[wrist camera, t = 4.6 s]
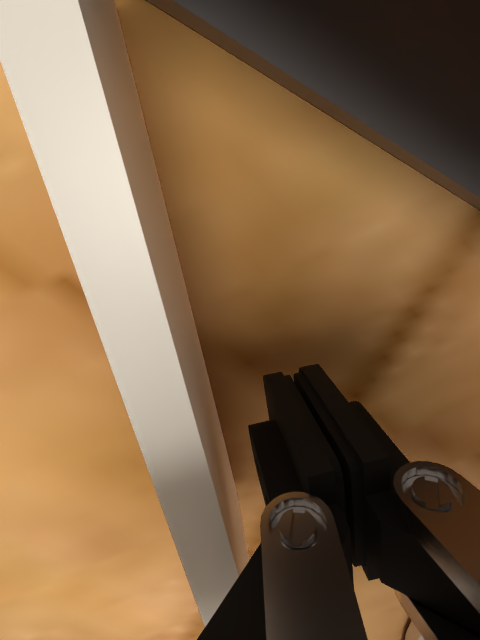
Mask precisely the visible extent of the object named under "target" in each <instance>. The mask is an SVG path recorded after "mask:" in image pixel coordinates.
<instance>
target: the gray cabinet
mask: <svg viewBox="0 0 480 640" xmlns="http://www.w3.org/2000/svg"><path fill="white" fill-rule="evenodd" d="M147 1H148V2H150V3H152V4H153V5H155V6H156V7H158V8H160V9H161V10H163V11H164V12H166V13H167V14H169V15H171V16H172V17H174V18H175V19H177V20H179V21H180V22H182V23H183V24H185V25H187V26H188V27H190V28H191V29H193V30H194V31H196V32H198V33H199V34H201V35H202V36H204V37H206V38H207V39H209V40H210V41H212V42H214V43H215V44H217V45H218V46H220V47H221V48H223V49H225V50H226V51H228V52H229V53H231V54H233V55H234V56H236V57H237V58H239V59H241V60H242V61H244V62H245V63H247V64H248V65H250V66H252V67H253V68H255V69H256V70H258V71H260V72H261V73H263V74H264V75H266V76H268V77H269V78H271V79H272V80H274V81H276V82H277V83H279V84H280V85H282V86H283V87H285V88H287V89H288V90H290V91H291V92H293V93H295V94H296V95H298V96H299V97H301V98H303V99H304V100H306V101H307V102H309V103H310V104H312V105H314V106H315V107H317V108H318V109H320V110H322V111H323V112H325V113H326V114H328V115H330V116H331V117H333V118H334V119H336V120H337V121H339V122H341V123H342V124H344V125H345V126H347V127H349V128H350V129H352V130H353V131H355V132H357V133H358V134H360V135H361V136H363V137H364V138H366V139H368V140H369V141H371V142H372V143H374V144H376V145H377V146H379V147H380V148H382V149H384V150H385V151H387V152H388V153H390V154H391V155H393V156H395V157H396V158H398V159H399V160H401V161H403V162H404V163H406V164H407V165H409V166H411V167H412V168H414V169H415V170H417V171H419V172H420V173H422V174H423V175H425V176H426V177H428V178H430V179H431V180H433V181H434V182H436V183H438V184H439V185H441V186H442V187H444V188H446V189H447V190H449V191H450V192H452V193H453V194H455V195H457V196H458V197H460V198H461V199H463V200H465V201H466V202H468V203H469V204H471V205H473V206H474V207H476V208H477V209H479V210H480V0H147Z"/></svg>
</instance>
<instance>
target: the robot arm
mask: <svg viewBox="0 0 480 640" xmlns="http://www.w3.org/2000/svg"><path fill="white" fill-rule="evenodd" d="M263 382H264V388H265V395H266V401H267V408H268V414H269V420H270V421H265V422H261V423H256V424H252V425H248V427H249V434H250V439H251V445H252V450H253V455H254V460H255V464H256V469H257V473H258V477H259V481H260V485H261V489H262V493H263V496H264V500H265V504H266V507H265V509H264V511H263V514H262V516H261V524H260V531H261V544H260V545H259V547H258V548H257V550H256V551H255V553H254V554H253V556H252V557H251V559H250V560H249V562H248V563H247V565H246V566H245V568H244V569H243V571H242V572H241V574H240V575H239V577H238V578H237V580H236V581H235V583H234V584H233V586H232V588H231V589H230V591H229V592H228V594H227V595H226V597H225V598H224V600H223V601H222V603H221V604H220V606H219V607H218V609H217V610H216V612H215V613H214V615H213V616H212V618H211V619H210V621H209V622H208V624H207V625H206V627H205V628H204V630H203V631H202V633H201V634H200V636H199V637H198V639H197V640H368V639H367V635H366V632H365V628H364V625H363V621H362V617H361V614H360V610H359V607H358V603H357V599H356V596H355V592H354V584H353V568H352V563H353V565H354V566H355V567H357V566H360V565H362V568H363V570H364V572H365V574H366V576H367V578H368V580H369V581H370V580H374V579H377V578H380V580H381V582H382V583H383V584H385V585H387V586H389V587H391V588H393V589H395V594H396V596H397V598H398V600H399V602H400V604H401V606H402V607H403V609H404V610H405V611H406V613H407V614H408V616H409V617H410V619H411V620H412V621H411V623H410V625H409V627H408V629H407V632H406V636H405V640H480V491H479V490H478V489H477V488H476V487H475V486H473V485H472V484H471V483H470V482H468V481H467V480H466V479H465V478H464V477H462V476H461V475H460V474H458V473H457V472H455V471H454V470H452V469H450V468H448V467H445V466H443V465H441V464H437V463H432V462H428V461H416V462H412V463H410V462H409V461H408V460H407V459H406V457H405V456H404V455H403V454H402V453H401V451H400V450H399V449H398V448H397V446H396V445H395V444H394V443H393V442H392V440H391V439H390V438H389V437H388V436H387V434H386V433H385V432H384V431H383V430H382V428H381V427H380V426H379V425H378V424H377V422H376V421H375V420H374V419H373V418H372V416H371V415H370V414H369V413H368V412H367V410H366V409H365V408H364V407H363V406H362V404H361V403H359V402H358V401H353V402H349V403H348V401H347V400H346V399H345V398H344V396H343V395H342V394H341V392H340V391H339V390H338V388H337V387H336V386H335V385H334V383H333V382H332V381H331V379H330V378H329V377H328V376H327V374H326V373H325V372H324V370H323V369H322V368H321V367H320V365H319V364H314V365H310V366H305V367H301V368H299V373H296V374H294V382H293V380H292V378H291V376H290V375H287V376H284V375H283V373H282V372H278V373H273V374H268V375H264V376H263Z"/></svg>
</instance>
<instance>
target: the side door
mask: <svg viewBox="0 0 480 640" xmlns="http://www.w3.org/2000/svg"><path fill="white" fill-rule="evenodd" d="M0 61H1V64H2V67H3V69H4V72H5V75H6V78H7V80H8V83H9V86H10V89H11V92H12V94H13V97H14V100H15V103H16V105H17V108H18V111H19V114H20V116H21V119H22V122H23V125H24V127H25V130H26V133H27V136H28V139H29V141H30V144H31V147H32V150H33V152H34V155H35V158H36V161H37V163H38V166H39V169H40V172H41V175H42V177H43V180H44V183H45V186H46V188H47V191H48V194H49V197H50V199H51V202H52V205H53V208H54V211H55V213H56V216H57V219H58V222H59V224H60V227H61V230H62V233H63V235H64V238H65V241H66V244H67V247H68V249H69V252H70V255H71V258H72V260H73V263H74V266H75V269H76V271H77V274H78V277H79V280H80V283H81V285H82V288H83V291H84V294H85V296H86V299H87V302H88V305H89V307H90V310H91V313H92V316H93V319H94V321H95V324H96V327H97V330H98V332H99V335H100V338H101V341H102V343H103V346H104V349H105V352H106V354H107V357H108V360H109V363H110V366H111V368H112V371H113V374H114V377H115V379H116V382H117V385H118V388H119V390H120V393H121V396H122V399H123V402H124V404H125V407H126V410H127V413H128V415H129V418H130V421H131V424H132V426H133V429H134V432H135V435H136V438H137V440H138V443H139V446H140V449H141V451H142V454H143V457H144V460H145V462H146V465H147V468H148V471H149V474H150V476H151V479H152V482H153V485H154V487H155V490H156V493H157V496H158V498H159V501H160V504H161V507H162V510H163V512H164V515H165V518H166V521H167V523H168V526H169V529H170V532H171V534H172V537H173V540H174V543H175V545H176V548H177V551H178V554H179V557H180V559H181V562H182V565H183V568H184V570H185V573H186V576H187V579H188V581H189V584H190V587H191V590H192V593H193V595H194V598H195V601H196V604H197V606H198V609H199V612H200V615H201V617H202V620H203V623H204V626H205V627H206V625H207V624H208V622H209V621H210V619H211V618H212V616H213V615H214V613H215V612H216V610H217V609H218V607H219V606H220V604H221V603H222V601H223V600H224V598H225V597H226V595H227V594H228V592H229V591H230V589H231V588H232V586H233V584H234V583H235V581H236V580H237V578H238V577H239V575H240V574H241V572H242V571H243V569H244V568H245V566H246V565H247V563H248V562H249V556H248V550H247V545H246V539H245V533H244V528H243V522H242V517H241V511H240V506H239V500H238V494H237V490H236V486H235V482H234V478H233V474H232V470H231V466H230V462H229V458H228V454H227V450H226V446H225V442H224V438H223V434H222V430H221V426H220V422H219V418H218V414H217V410H216V406H215V402H214V398H213V394H212V390H211V386H210V382H209V378H208V374H207V370H206V366H205V361H204V357H203V353H202V349H201V345H200V341H199V337H198V333H197V329H196V325H195V321H194V317H193V313H192V309H191V305H190V301H189V297H188V293H187V289H186V285H185V281H184V277H183V273H182V269H181V265H180V261H179V257H178V253H177V249H176V245H175V241H174V237H173V233H172V229H171V225H170V221H169V217H168V213H167V209H166V205H165V201H164V197H163V193H162V189H161V185H160V181H159V177H158V173H157V169H156V165H155V161H154V157H153V153H152V149H151V145H150V141H149V137H148V133H147V129H146V124H145V120H144V116H143V112H142V108H141V104H140V100H139V96H138V92H137V88H136V84H135V80H134V76H133V72H132V68H131V64H130V60H129V56H128V52H127V48H126V44H125V40H124V36H123V32H122V28H121V24H120V20H119V16H118V12H117V8H116V4H115V0H0Z"/></svg>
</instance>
